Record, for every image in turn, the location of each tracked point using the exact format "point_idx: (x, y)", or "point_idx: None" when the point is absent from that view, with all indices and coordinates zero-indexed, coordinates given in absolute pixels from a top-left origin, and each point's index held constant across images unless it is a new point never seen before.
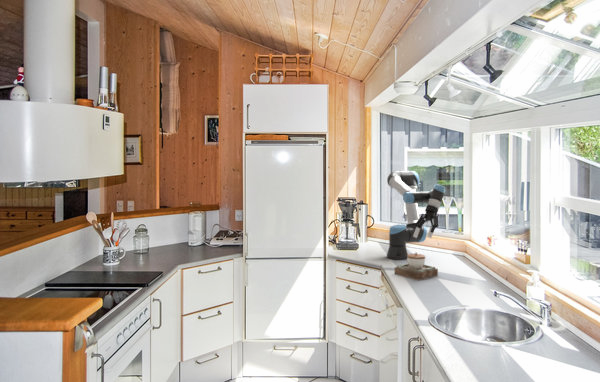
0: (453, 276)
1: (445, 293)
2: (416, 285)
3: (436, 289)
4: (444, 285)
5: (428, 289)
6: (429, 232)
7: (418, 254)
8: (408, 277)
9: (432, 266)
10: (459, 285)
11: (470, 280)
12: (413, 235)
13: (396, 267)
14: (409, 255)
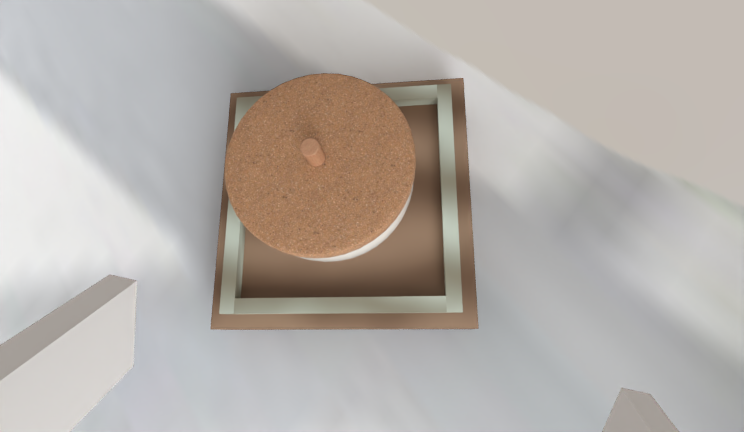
0: (138, 402)
1: (13, 40)
2: (191, 26)
3: (76, 56)
4: (79, 152)
5: (106, 23)
6: (31, 334)
7: (325, 208)
8: None
9: (248, 312)
10: (15, 224)
11: None
12: (649, 404)
13: (454, 88)
14: (355, 95)
